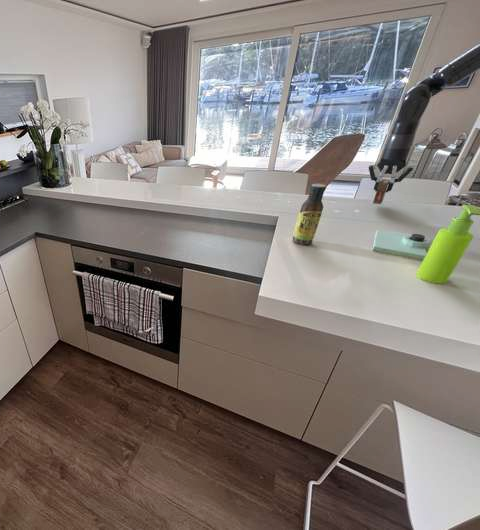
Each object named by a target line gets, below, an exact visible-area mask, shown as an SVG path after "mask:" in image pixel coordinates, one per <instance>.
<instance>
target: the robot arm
mask: <svg viewBox="0 0 480 530" xmlns="http://www.w3.org/2000/svg"><path fill="white" fill-rule="evenodd" d="M479 70H480V43H478V44H477V45H475V46H473V47H471V48H470V49H468V50H467V51H465V52H464V53H462V54H460V55H459V56H458V57H456V58H454V59H453V60H451V61H450V62H448V63H447V64H445V65H444V66H443V67H441V68H440V69H439V70H437V71H436V72H434V73H432V74H430V75H429V76H427V77H425V78H424V79H422V80H420V81H419V82H417V83H415V84H413V85H412V86H410V87H409V88H408V89H407V90H406V91H405V92H404V93H403V95H402V99H401V101H402V102H401V105H400V108H399V111H398V115H397V117H396V118H395V121H394V123H393V125H392V128H391V131H390V133H389V136H388V138H387V139H386V142H385V145H384V147H383V151H382V154H381V157H380V159H379V161H378V162H376V163H374V164H369V166H368V173H369V175H370V176H369V177H370V180H371V181H374V182H375V183H374V186H373V191H374V192H377V189H378V187H379V184H380V182H381V180H382V179H383V177H384V175H388V174H389V175H390V182H389V184H388V186H387V189H386V193H389V192H391V191H392V189H393V187H394V184H395V183H401V182H402V181H403V180H404V179H406V177H407V176H409V174H411V172H412V171H414V166H412V165H411V166H409V165H408V164H407V159H408V157H409V154H410V153H411V149H412V146H413V145H414V141H415V138H416V134H417V132H418V129H419V126H420V124H421V121H422V117H423V115H424V114H425V112H426V109H427V108H428V105H429V103H430V102H431V98H432V97H434V96H437V94H439V93H440V92H442V91H444V90H445V89H448V88H450V87H453V86H455V85H457V84H459V83H460V82H462V81H464V80H465V79H467V78H469V77H470V76H472V75H473V74H475V73H476V72H478V71H479ZM377 168H378V170H379V174H378V175H377V176H376V174H375V170H377ZM401 170H403V172H402V173H401V174H400V175H399V176H398V177H396V176H397V173H398V172H400V171H401Z"/></svg>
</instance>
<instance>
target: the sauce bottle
mask: <svg viewBox="0 0 480 530" xmlns="http://www.w3.org/2000/svg"><path fill="white" fill-rule="evenodd" d="M326 190H327V185H326V184H323V183H313V184H311V186H310V191H309V194H308V196H307V198H306V200H305V201H304V202H303V203H302V204H301V207H300V210H299V212H298V216H297V219H296V223H295V227H294V230H293V233H292V239H293V240H292V239H291V240H292V242H294V241H295V242H297V243H302V244H308V245H311V244H312V242H313V240H314V239H315V235H316V233H317V229H318V226H319V223H320V221H321V218H322V215H323V210H324V204H323V201H322V200H323V196H324V193H325V192H326ZM295 242H294V243H295ZM297 243H296V244H297ZM310 243H311V244H310ZM302 244H301V245H302Z"/></svg>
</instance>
